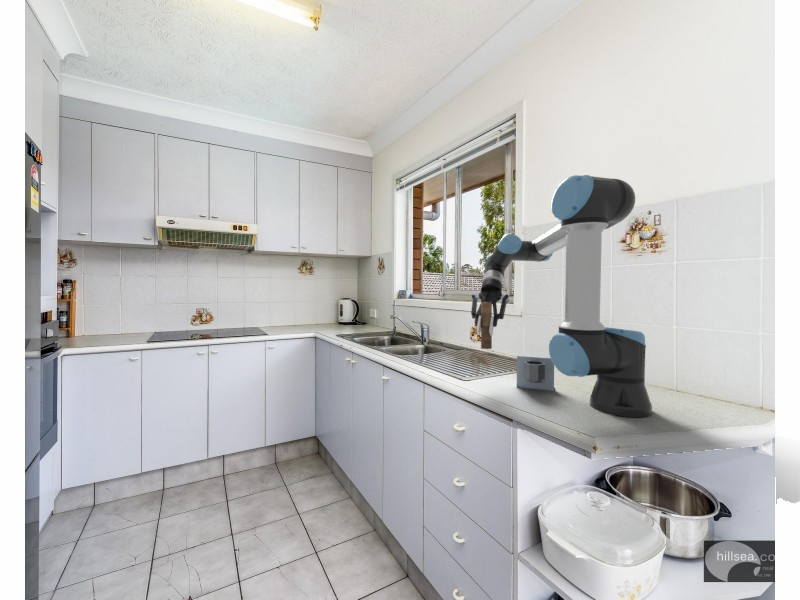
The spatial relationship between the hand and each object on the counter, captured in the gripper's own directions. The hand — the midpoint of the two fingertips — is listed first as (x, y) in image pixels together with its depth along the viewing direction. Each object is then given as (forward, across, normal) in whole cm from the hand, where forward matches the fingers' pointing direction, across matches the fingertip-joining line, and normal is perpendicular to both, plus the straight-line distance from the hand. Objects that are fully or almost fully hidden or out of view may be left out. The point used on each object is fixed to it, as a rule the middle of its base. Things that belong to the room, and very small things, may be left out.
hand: (484, 332), depth 119 cm
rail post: (+1, 0, -7) cm, 7 cm away
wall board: (+6, -16, -22) cm, 28 cm away
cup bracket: (+8, -16, -14) cm, 23 cm away
